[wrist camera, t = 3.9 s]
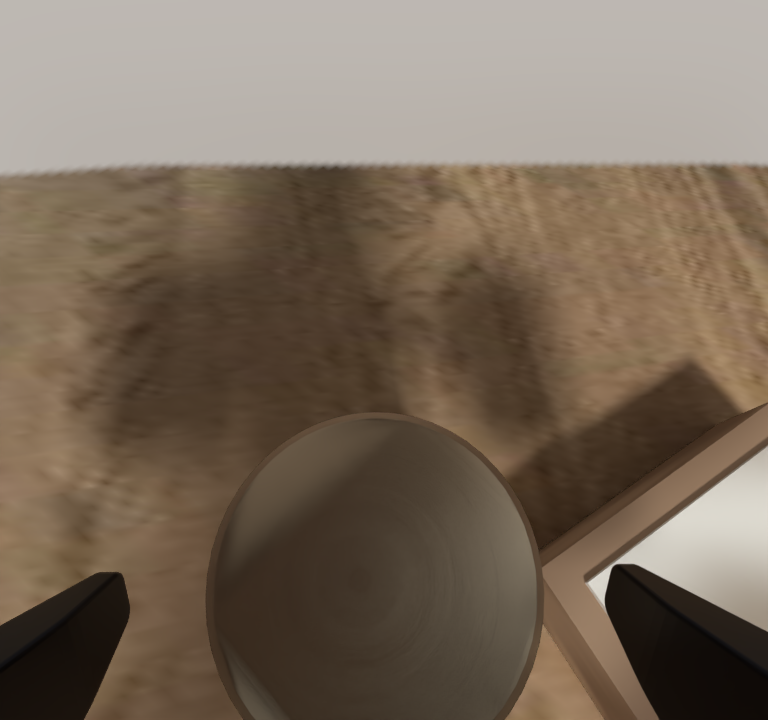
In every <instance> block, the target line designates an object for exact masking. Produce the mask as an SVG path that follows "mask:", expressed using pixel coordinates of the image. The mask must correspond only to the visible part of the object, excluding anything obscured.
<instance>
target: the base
mask: <svg viewBox="0 0 768 720" xmlns="http://www.w3.org/2000/svg"><path fill="white" fill-rule="evenodd" d="M539 555H540V560H541V565H542V572H543V584H544V618H543V624H544V626H545V627H546V629H547V630H548V632H549V633H550V635H551V637H552V638H553V640H554V641H555V643H556V644H557V646H558V648H559V649H560V651H561V652H562V654H563V655H564V657H565V658H566V660H567V662H568V663H569V665H570V666H571V668H572V669H573V671H574V672H575V674H576V676H577V677H578V679H579V680H580V682H581V683H582V685H583V687H584V688H585V690H586V691H587V693H588V694H589V696H590V697H591V699H592V701H593V702H594V704H595V705H596V707H597V708H598V710H599V712H600V713H601V715H602V716H603V718H604V719H605V720H659V718H658V716H657V715H656V713H655V711H654V709H653V708H652V706H651V704H650V702H649V701H648V699H647V697H646V695H645V693H644V692H643V690H642V688H641V686H640V684H639V682H638V680H637V678H636V675H635V673H634V671H633V669H632V667H631V665H630V662H629V660H628V658H627V656H626V654H625V651H624V649H623V647H622V645H621V643H620V640H619V638H618V636H617V634H616V632H615V630H614V627H613V625H612V623H611V621H610V619H609V616H608V614H607V611H606V608H605V593H606V589H607V584H608V580H609V576H610V572H611V569H612V567H613V566H614V565H616V564H636V565H639V566H640V567H642V568H644V569H646V570H648V571H650V572H652V573H654V574H656V575H658V576H660V577H662V578H664V579H666V580H668V581H670V582H672V583H674V584H676V585H678V586H680V587H682V588H683V589H685V590H687V591H689V592H691V593H693V594H695V595H697V596H699V597H701V598H703V599H705V600H707V601H709V602H711V603H713V604H715V605H717V606H719V607H721V608H723V609H725V610H726V611H728V612H730V613H732V614H734V615H736V616H738V617H740V618H742V619H744V620H746V621H748V622H750V623H752V624H754V625H756V626H758V627H760V628H762V629H764V630H766V631H767V632H768V403H765V404H763V405H761V406H758V407H756V408H754V409H752V410H749V411H747V412H745V413H742V414H740V415H738V416H735V417H733V418H731V419H729V420H726V421H724V422H722V423H719V424H717V425H716V426H714V427H713V428H711V429H710V430H709V431H707V432H706V433H704V434H703V435H701V436H700V437H699V438H697V439H696V440H694V441H693V442H692V443H690V444H689V445H687V446H686V447H685V448H683V449H682V450H680V451H679V452H678V453H676V454H675V455H673V456H672V457H671V458H669V459H668V460H666V461H665V462H664V463H662V464H661V465H659V466H658V467H656V468H655V469H654V470H652V471H651V472H649V473H648V474H647V475H645V476H644V477H642V478H641V479H640V480H638V481H637V482H635V483H634V484H633V485H631V486H630V487H628V488H627V489H626V490H624V491H623V492H621V493H620V494H618V495H617V496H616V497H614V498H613V499H611V500H610V501H609V502H607V503H606V504H604V505H603V506H602V507H600V508H599V509H597V510H596V511H595V512H593V513H592V514H590V515H589V516H588V517H586V518H585V519H583V520H582V521H580V522H579V523H578V524H576V525H575V526H573V527H572V528H571V529H569V530H568V531H566V532H565V533H564V534H562V535H561V536H559V537H558V538H557V539H555V540H554V541H552V542H551V543H550V544H548V545H547V546H545V547H544V548H543V549H541V550H540V551H539Z"/></svg>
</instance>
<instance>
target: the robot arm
mask: <svg viewBox="0 0 768 720" xmlns="http://www.w3.org/2000/svg"><path fill="white" fill-rule="evenodd" d="M605 608H606V611H607V614H608V616H609V619H610V621H611V623H612V625H613V627H614V630H615V632H616V634H617V636H618V638H619V640H620V643H621V645H622V647H623V649H624V651H625V654H626V656H627V658H628V660H629V662H630V665H631V667H632V669H633V671H634V673H635V675H636V678H637V680H638V682H639V684H640V686H641V688H642V690H643V692H644V693H645V695H646V697H647V699H648V701H649V702H650V704H651V706H652V708H653V709H654V711H655V713H656V715H657V716H658V718H659V720H768V632H767V631H766V630H764V629H762V628H760V627H758V626H756V625H754V624H752V623H750V622H748V621H746V620H744V619H742V618H740V617H738V616H736V615H734V614H732V613H730V612H728V611H726V610H725V609H723V608H721V607H719V606H717V605H715V604H713V603H711V602H709V601H707V600H705V599H703V598H701V597H699V596H697V595H695V594H693V593H691V592H689V591H687V590H685V589H683V588H682V587H680V586H678V585H676V584H674V583H672V582H670V581H668V580H666V579H664V578H662V577H660V576H658V575H656V574H654V573H652V572H650V571H648V570H646V569H644V568H642V567H640V566H639V565H636V564H616V565H614V566H613V567H612V569H611V572H610V576H609V580H608V584H607V589H606V593H605ZM129 614H130V604H129V599H128V595H127V590H126V586H125V581H124V578H123V575H122V574H121V573H119V572H99V573H96V574H94V575H92V576H90V577H88V578H86V579H85V580H83V581H81V582H79V583H77V584H75V585H74V586H72V587H70V588H68V589H66V590H64V591H63V592H61V593H59V594H57V595H55V596H53V597H52V598H50V599H48V600H46V601H44V602H43V603H41V604H39V605H37V606H35V607H33V608H32V609H30V610H28V611H26V612H24V613H22V614H21V615H19V616H17V617H15V618H13V619H11V620H10V621H8V622H6V623H4V624H2V625H0V720H84V718H85V716H86V715H87V713H88V711H89V709H90V707H91V705H92V703H93V701H94V698H95V696H96V694H97V692H98V690H99V687H100V685H101V683H102V681H103V678H104V676H105V674H106V671H107V669H108V667H109V664H110V662H111V660H112V657H113V655H114V653H115V650H116V648H117V646H118V644H119V641H120V639H121V637H122V634H123V632H124V630H125V627H126V625H127V622H128V619H129Z"/></svg>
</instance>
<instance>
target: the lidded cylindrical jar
mask: <svg viewBox="0 0 768 720" xmlns="http://www.w3.org/2000/svg"><path fill="white" fill-rule="evenodd" d="M206 618H207V628H208V634H209V640H210V646H211V651H212V654H213V657H214V660H215V664H216V667H217V670H218V673H219V676H220V678H221V680H222V682H223V685H224V687H225V689H226V691H227V693H228V695H229V697H230V699H231V701H232V702H233V704H234V706H235V707H236V709H237V710H238V712H239V713H240V715H241V716H242V718H243V720H504V719H505V718H506V717H507V716H508V714H509V713H510V711H511V710H512V708H513V706H514V705H515V703H516V701H517V700H518V698H519V696H520V695H521V693H522V691H523V689H524V687H525V684H526V682H527V680H528V677H529V675H530V672H531V670H532V668H533V665H534V661H535V657H536V654H537V650H538V647H539V643H540V637H541V631H542V624H543V618H544V584H543V572H542V565H541V560H540V555H539V550H538V546H537V543H536V540H535V537H534V533H533V530H532V527H531V524H530V522H529V520H528V518H527V515H526V513H525V511H524V509H523V507H522V505H521V503H520V501H519V499H518V498H517V496H516V494H515V493H514V491H513V490H512V488H511V486H510V485H509V483H508V482H507V481H506V480H505V478H504V477H503V476H502V474H501V473H500V472H499V471H498V469H497V468H496V467H495V466H494V465H493V464H492V463H491V462H490V461H489V460H488V459H487V458H486V457H485V456H484V455H483V454H482V453H481V452H480V451H478V450H477V449H476V448H475V447H473V446H472V445H471V444H470V443H468V442H467V441H466V440H464V439H462V438H461V437H459V436H458V435H456V434H454V433H453V432H451V431H449V430H447V429H445V428H443V427H441V426H439V425H436V424H434V423H432V422H429V421H426V420H423V419H420V418H416V417H413V416H408V415H402V414H397V413H385V412H368V413H355V414H350V415H345V416H339V417H336V418H333V419H330V420H327V421H323V422H320V423H318V424H316V425H314V426H312V427H309V428H307V429H305V430H303V431H301V432H299V433H298V434H296V435H295V436H293V437H291V438H290V439H288V440H287V441H285V442H284V443H282V444H281V445H280V446H279V447H277V448H276V449H275V450H274V451H272V452H271V453H270V454H269V455H268V456H267V457H266V458H265V459H264V460H263V461H262V462H261V463H260V464H259V465H258V466H257V467H256V468H255V469H254V470H253V471H252V473H251V474H250V475H249V476H248V478H247V479H246V480H245V482H244V483H243V484H242V485H241V487H240V488H239V490H238V492H237V493H236V495H235V497H234V498H233V500H232V502H231V503H230V505H229V507H228V509H227V511H226V513H225V516H224V518H223V520H222V522H221V524H220V527H219V529H218V533H217V536H216V539H215V542H214V545H213V548H212V552H211V558H210V563H209V568H208V573H207V585H206Z"/></svg>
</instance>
